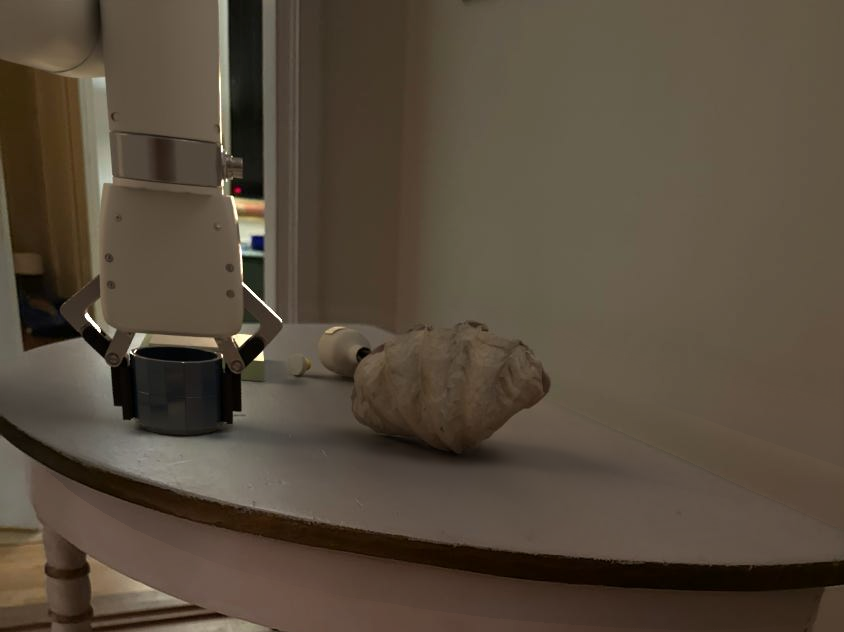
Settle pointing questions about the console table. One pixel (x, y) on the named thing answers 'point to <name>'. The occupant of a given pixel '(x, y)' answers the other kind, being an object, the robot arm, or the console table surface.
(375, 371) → the seashell
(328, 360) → the jar with stopper
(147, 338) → the scale
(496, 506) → the console table surface
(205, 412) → the cup
